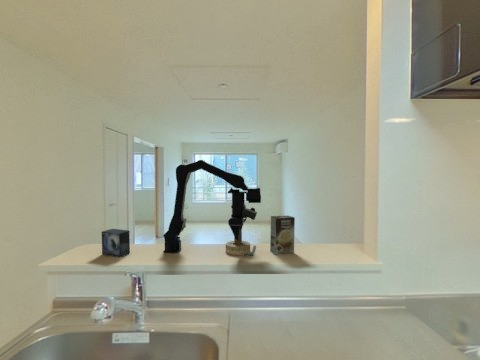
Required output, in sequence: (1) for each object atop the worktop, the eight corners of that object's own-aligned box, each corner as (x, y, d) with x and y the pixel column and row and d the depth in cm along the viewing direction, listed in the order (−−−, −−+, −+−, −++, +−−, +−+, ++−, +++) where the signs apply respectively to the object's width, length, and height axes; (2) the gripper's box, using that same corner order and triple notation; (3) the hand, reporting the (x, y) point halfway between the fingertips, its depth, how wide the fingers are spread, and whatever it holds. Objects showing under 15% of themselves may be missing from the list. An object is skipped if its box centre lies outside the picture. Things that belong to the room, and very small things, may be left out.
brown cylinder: (233, 252, 127) (233, 229, 127) (234, 250, 131) (234, 228, 130) (241, 252, 127) (241, 229, 127) (242, 250, 130) (242, 228, 130)
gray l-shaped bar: (243, 255, 122) (243, 254, 122) (247, 246, 136) (247, 245, 136) (253, 255, 122) (253, 254, 122) (255, 246, 136) (255, 245, 136)
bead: (224, 254, 124) (223, 246, 124) (228, 247, 135) (228, 240, 135) (248, 255, 123) (248, 247, 123) (251, 248, 134) (251, 240, 134)
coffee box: (276, 255, 123) (276, 218, 122) (269, 251, 129) (270, 216, 128) (294, 253, 126) (294, 217, 125) (287, 249, 132) (288, 215, 131)
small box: (100, 255, 124) (100, 231, 123) (112, 251, 130) (112, 228, 129) (119, 257, 120) (118, 233, 119) (130, 253, 126) (130, 230, 125)
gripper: (254, 205, 118) (254, 242, 118) (257, 200, 136) (257, 233, 137) (228, 205, 119) (228, 242, 120) (234, 200, 138) (234, 232, 138)
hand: (238, 237), depth 129 cm, fingers open, 9 cm apart
